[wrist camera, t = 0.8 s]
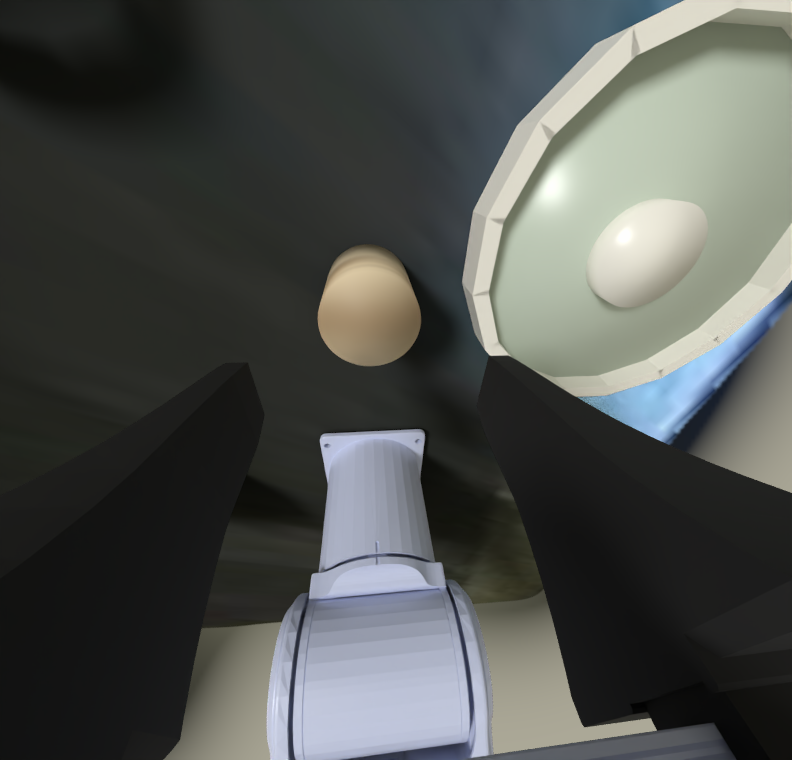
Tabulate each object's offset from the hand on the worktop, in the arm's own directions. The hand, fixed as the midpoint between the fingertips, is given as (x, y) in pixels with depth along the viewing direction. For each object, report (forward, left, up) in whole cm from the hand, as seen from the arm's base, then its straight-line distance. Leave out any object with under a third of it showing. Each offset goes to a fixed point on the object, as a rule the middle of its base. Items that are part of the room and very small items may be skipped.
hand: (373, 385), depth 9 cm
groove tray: (+2, -14, -9) cm, 17 cm away
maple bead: (0, 0, -9) cm, 9 cm away
